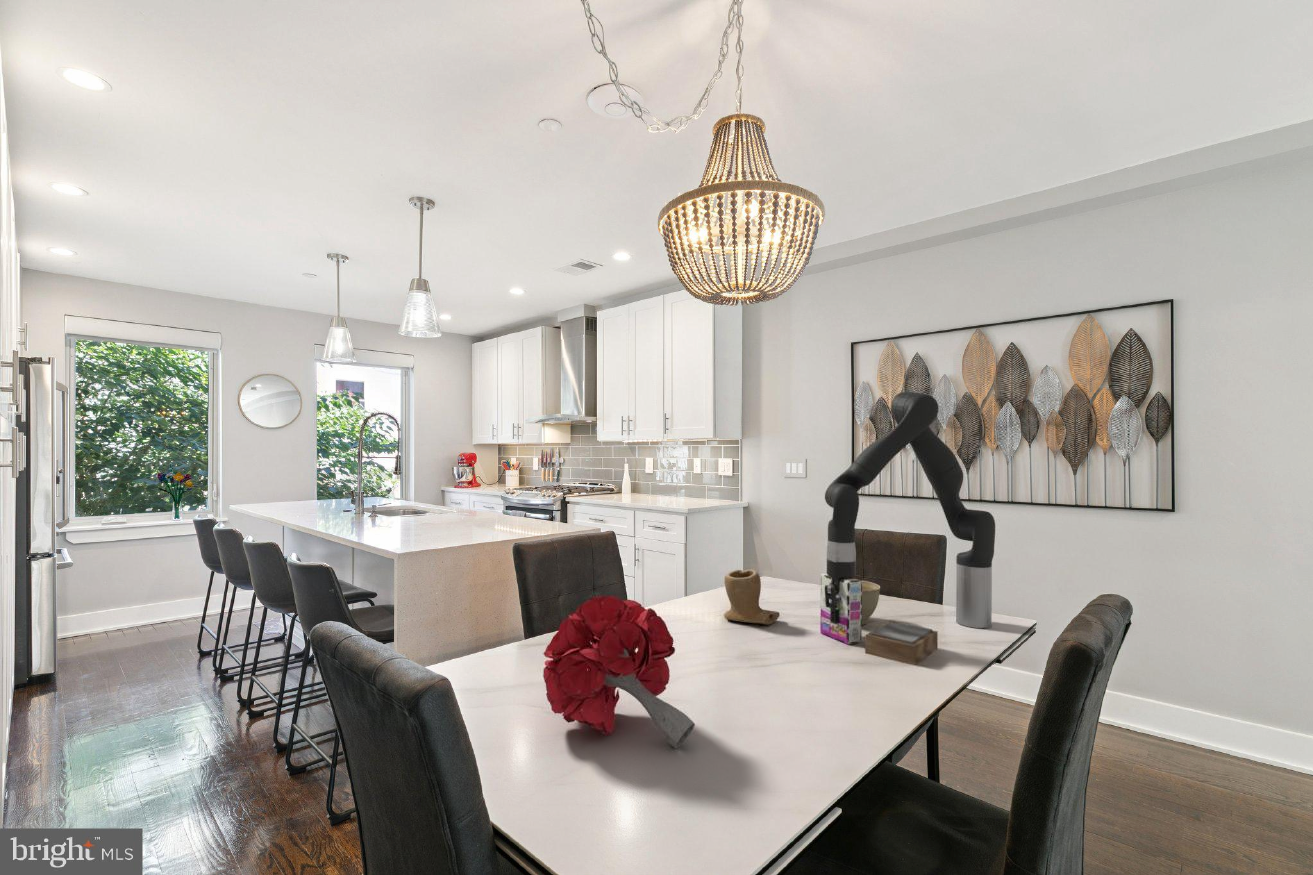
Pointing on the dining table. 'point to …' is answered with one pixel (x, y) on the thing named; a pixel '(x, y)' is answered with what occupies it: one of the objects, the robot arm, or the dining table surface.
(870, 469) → the robot arm
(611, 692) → the bouquet
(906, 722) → the dining table surface
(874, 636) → the stand
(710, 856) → the dining table surface
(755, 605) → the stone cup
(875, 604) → the planter bowl
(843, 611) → the candy bar box
